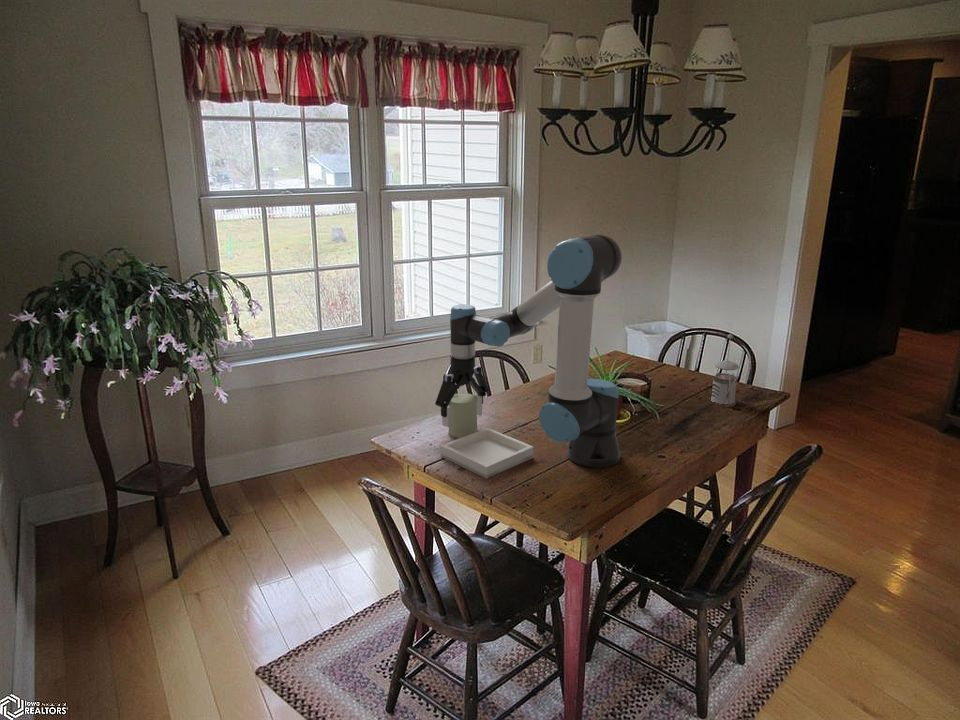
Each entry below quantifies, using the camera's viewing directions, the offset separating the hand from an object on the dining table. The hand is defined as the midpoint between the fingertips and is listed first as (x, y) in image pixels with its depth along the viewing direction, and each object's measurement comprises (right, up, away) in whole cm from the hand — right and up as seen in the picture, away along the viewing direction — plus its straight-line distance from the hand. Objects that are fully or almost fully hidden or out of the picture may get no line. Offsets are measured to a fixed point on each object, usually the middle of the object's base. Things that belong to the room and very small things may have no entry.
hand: (462, 420), depth 215 cm
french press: (+91, +3, +26) cm, 95 cm away
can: (0, -4, +1) cm, 4 cm away
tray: (+8, -9, -16) cm, 20 cm away
